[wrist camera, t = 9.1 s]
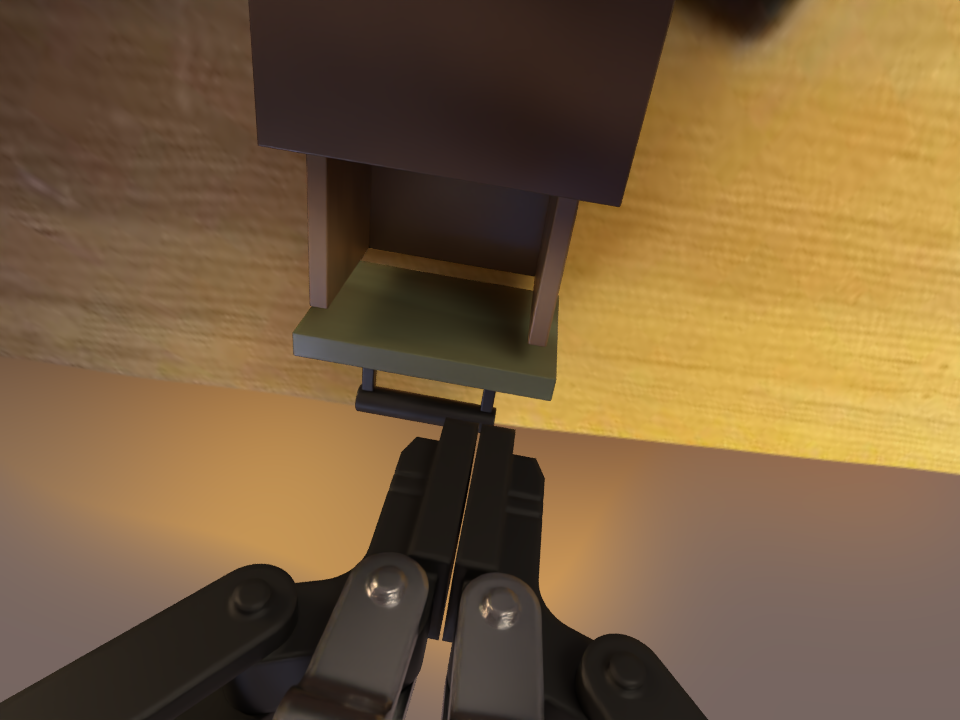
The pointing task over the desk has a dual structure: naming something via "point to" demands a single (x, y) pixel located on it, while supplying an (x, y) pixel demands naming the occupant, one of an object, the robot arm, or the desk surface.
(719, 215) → the desk surface
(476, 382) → the drawer
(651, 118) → the desk surface
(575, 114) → the cabinet
